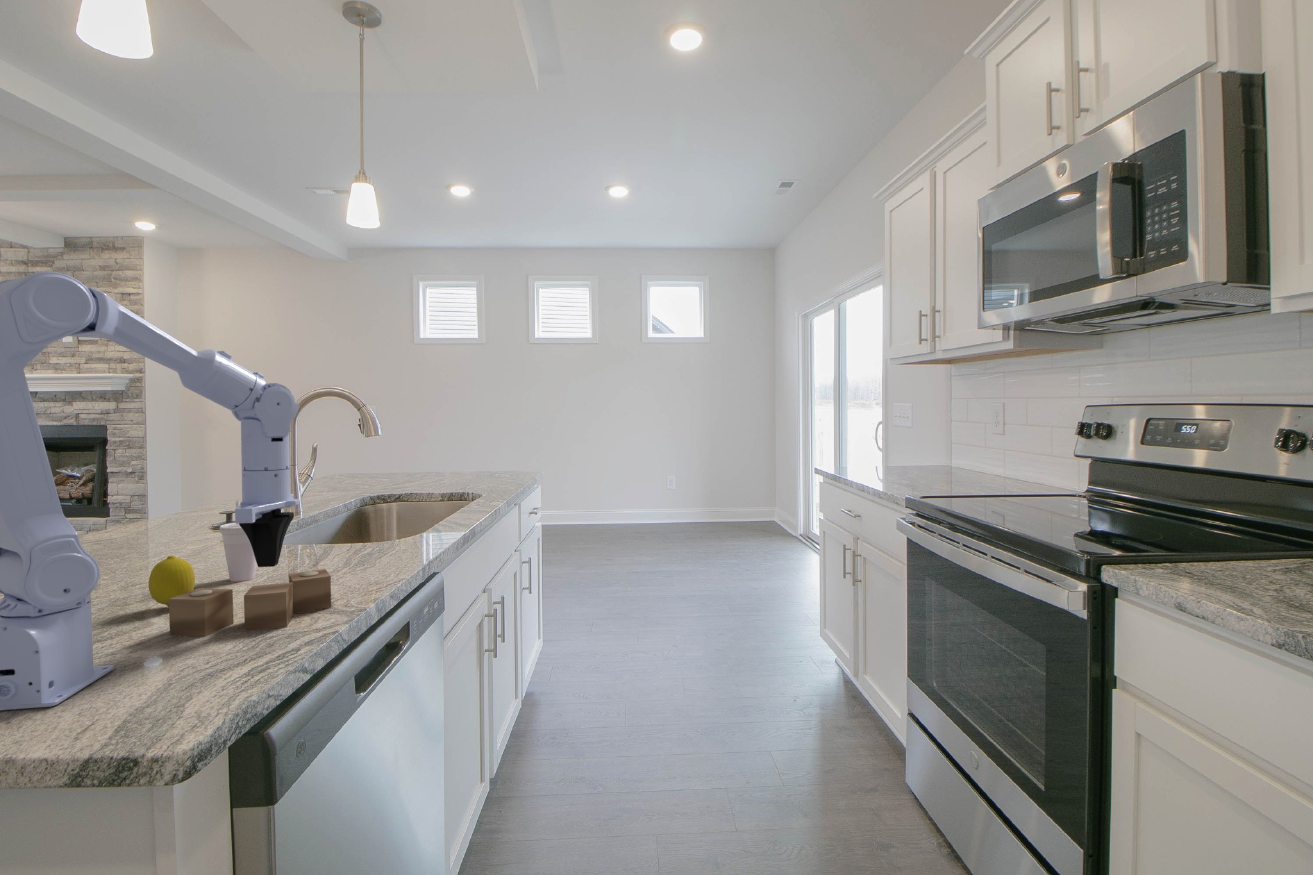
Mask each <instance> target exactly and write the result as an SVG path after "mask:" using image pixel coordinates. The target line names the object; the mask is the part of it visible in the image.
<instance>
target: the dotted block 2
mask: <svg viewBox="0 0 1313 875" xmlns="http://www.w3.org/2000/svg"><path fill="white" fill-rule="evenodd" d="M331 578H332V577H331V574H330V573H329V572H328V570H326V568H323V569H322V568H321V569H316V570H315V569H314V570H307V571H299V572H294V573H288V583H292V582H293V615H296V614H301V613H309V612H313V610H315V611H319V610H320V609H321V610H324V609H323V608H327V609H332V585H331V584H332V583H331V582H332V580H331ZM308 611H309V612H308Z"/></svg>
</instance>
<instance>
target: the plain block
mask: <svg viewBox="0 0 1313 875" xmlns="http://www.w3.org/2000/svg"><path fill="white" fill-rule="evenodd" d="M243 609H244V610H243V611H244V612H243V613H244V615H243V617H244V632H250V631H260V630H270V629H279V628H288V626H289V624H290V622H291V621H292V619H293V618H294V614H293V582H292V583H289V582H281V583H272V584H257V585H252V586H251V587H250V588H249V589H248V591H247V592H246V593H245V594H244V595H243Z"/></svg>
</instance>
